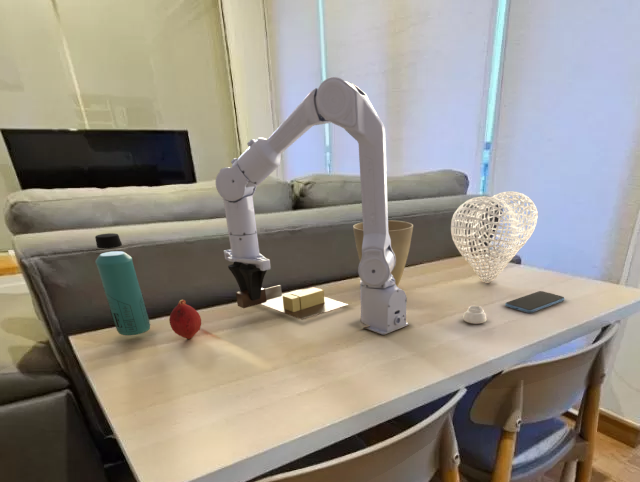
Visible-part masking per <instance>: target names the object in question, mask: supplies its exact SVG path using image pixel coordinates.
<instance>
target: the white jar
mask: <svg viewBox="0 0 640 482" xmlns="http://www.w3.org/2000/svg"><path fill="white" fill-rule="evenodd" d="M487 318H488V317H487V315H486V312H485V311H484V308H483V306H480V305H469V306H468V309H466V311H465V312H464V314H463V316H462V320H463V321H464V322H466V323H468V324H474V325H477V324H478V325H480V324H483V323H485V322H487Z"/></svg>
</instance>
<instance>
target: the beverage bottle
mask: <svg viewBox="0 0 640 482" xmlns="http://www.w3.org/2000/svg"><path fill="white" fill-rule="evenodd" d="M94 239H95V243H96V248H97V249H115V248H119V247H122V246H123V243H122V241H121V237H120V235H119V234H118V233H113V232H110V233H109V232H108V233H100V234H96V235H95V236H94ZM95 265H96V267H97V271H98V274H99V277H100V280H101V284H102V289H103V291H104V294H105V296H106V302H107V304H108V307H109V312H110V315H111V318H112V322H113V325H114V329H115V330H116V331H117V333H118V334H119V335H121V336H135V335H136V336H137V335H141V334H145V333H146V332H148V331H149V330H151V325H152V323H151V321H150V318H149V313H148V308H147V307H146V303H145V300H144V296H143V295H144V294H143V292H142V288H141V286H140V284H139V280H138V277H137V272H136V269H135V265H134V261H133V257H132V256H131V255H130V254H128V253H126V252H125V251H123V250H122V251H121V250H119V251H118V250H115V251H114V250H113V251H106V252H103V253H99V255H98V256H97V258H96V259H95Z"/></svg>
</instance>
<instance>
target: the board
mask: <svg viewBox="0 0 640 482" xmlns="http://www.w3.org/2000/svg"><path fill="white" fill-rule="evenodd" d="M302 290H303V289H296V290H292V291H290V292H285V293H282V296H284V295H287V294H291V293H295V292H298V291H302ZM282 296H281V297H277V298H273V299H270V300H267V302H265V303H261V304H260V305H261V306H264V307H267V308H270V309H271V310H275V311H278V312H281V313H283V314H286V315H288V316H290V317H293V318H296V319H299V320H301V321H303V320H306V319H309V318H312V317H315V316H318V315H322V314H325V313H327V312H331V311H333V310H338V309H340V308H343V307H346V306H349V305H350V304H348V303H345V302H342V301H339V300H336V299H332V298H330V297H326V296H324V301H325V303H321V304H318V305H315V306H312V307H308V308H305V309H302V310H301V309H300V310H299V311H295V312H292V311H289V310H286V309H284V306H283V297H282Z"/></svg>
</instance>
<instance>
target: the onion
mask: <svg viewBox="0 0 640 482" xmlns="http://www.w3.org/2000/svg"><path fill="white" fill-rule="evenodd" d="M168 319H169V325H170V327H171V330H172V331H173V332H174V334H176V335H178V336H179V337H181V338H184V339H187V340H191V339H193V338H194V336H196V334H197V333H198V332H200V329H201V326H202V317H201V315H200V313H199V312H198V311H197V310H196V309H195V307H193V306H191V305H189V304H187V303H186V300H185V299H180V300H179V301H178V303H177V305H176V306H175V307H174V308H173V309H172V311H171V312H170V315H169V318H168Z"/></svg>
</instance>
